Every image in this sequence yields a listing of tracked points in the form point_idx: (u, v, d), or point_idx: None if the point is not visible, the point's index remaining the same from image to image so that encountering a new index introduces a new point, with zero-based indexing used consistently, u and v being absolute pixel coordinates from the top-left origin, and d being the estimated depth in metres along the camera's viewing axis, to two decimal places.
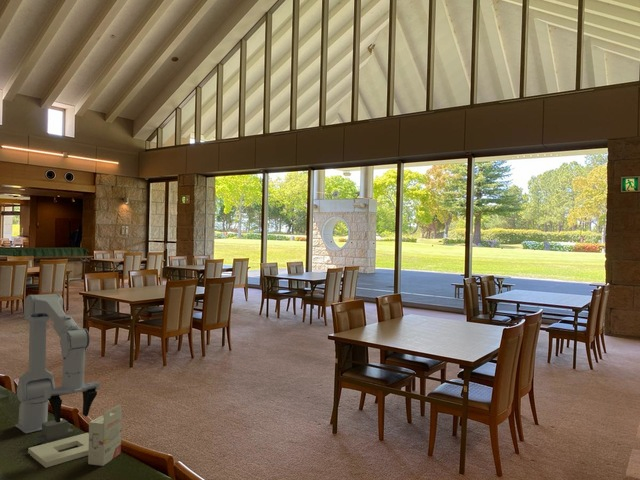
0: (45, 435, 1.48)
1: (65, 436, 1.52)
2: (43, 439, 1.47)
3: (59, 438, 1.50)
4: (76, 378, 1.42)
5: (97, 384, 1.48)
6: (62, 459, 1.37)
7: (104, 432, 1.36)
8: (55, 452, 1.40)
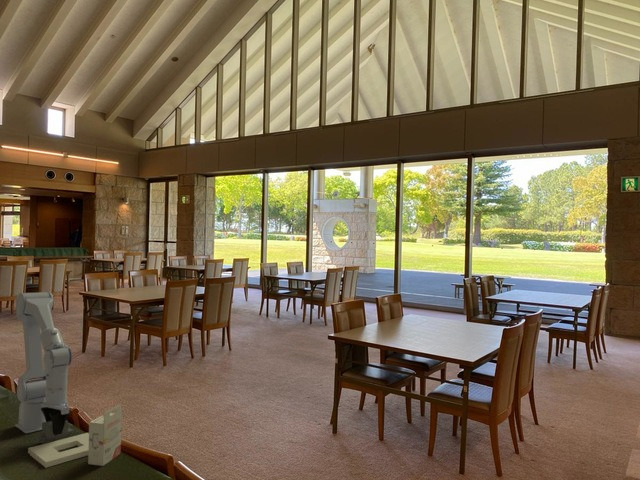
0: (45, 435, 1.48)
1: (65, 436, 1.52)
2: (43, 439, 1.47)
3: (59, 438, 1.50)
4: (46, 393, 1.49)
5: (61, 408, 1.46)
6: (62, 459, 1.37)
7: (104, 432, 1.36)
8: (55, 452, 1.40)
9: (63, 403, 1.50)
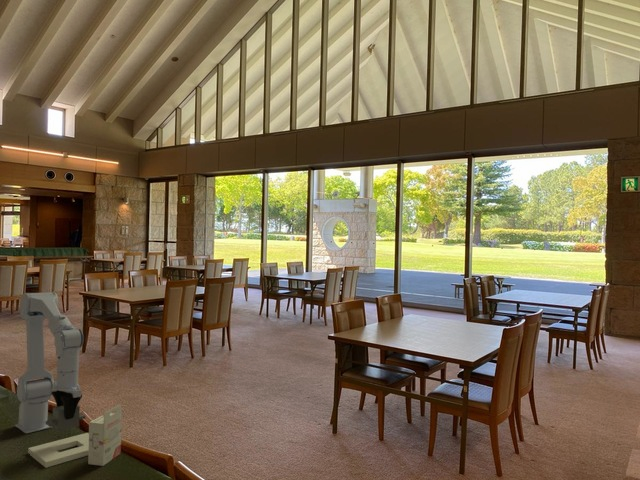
0: (56, 420, 1.43)
1: (77, 421, 1.47)
2: (54, 424, 1.42)
3: (70, 423, 1.45)
4: (57, 376, 1.44)
5: (73, 391, 1.41)
6: (62, 459, 1.37)
7: (104, 432, 1.36)
8: (55, 452, 1.40)
9: (75, 386, 1.45)
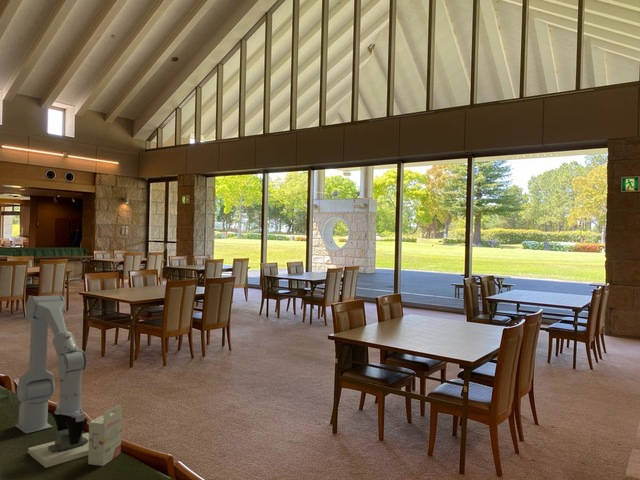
0: (59, 445, 1.42)
1: (79, 446, 1.45)
2: (57, 449, 1.41)
3: None
4: (60, 399, 1.43)
5: (76, 416, 1.40)
6: (62, 459, 1.37)
7: (104, 432, 1.36)
8: (55, 452, 1.40)
9: (77, 410, 1.44)
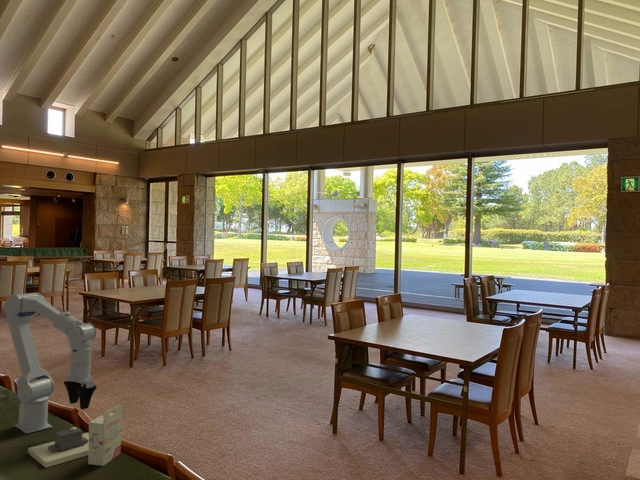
0: (59, 445, 1.42)
1: (79, 446, 1.45)
2: (57, 449, 1.41)
3: None
4: (71, 368, 1.55)
5: (86, 382, 1.52)
6: (62, 459, 1.37)
7: (103, 432, 1.36)
8: (55, 452, 1.40)
9: (87, 377, 1.56)
